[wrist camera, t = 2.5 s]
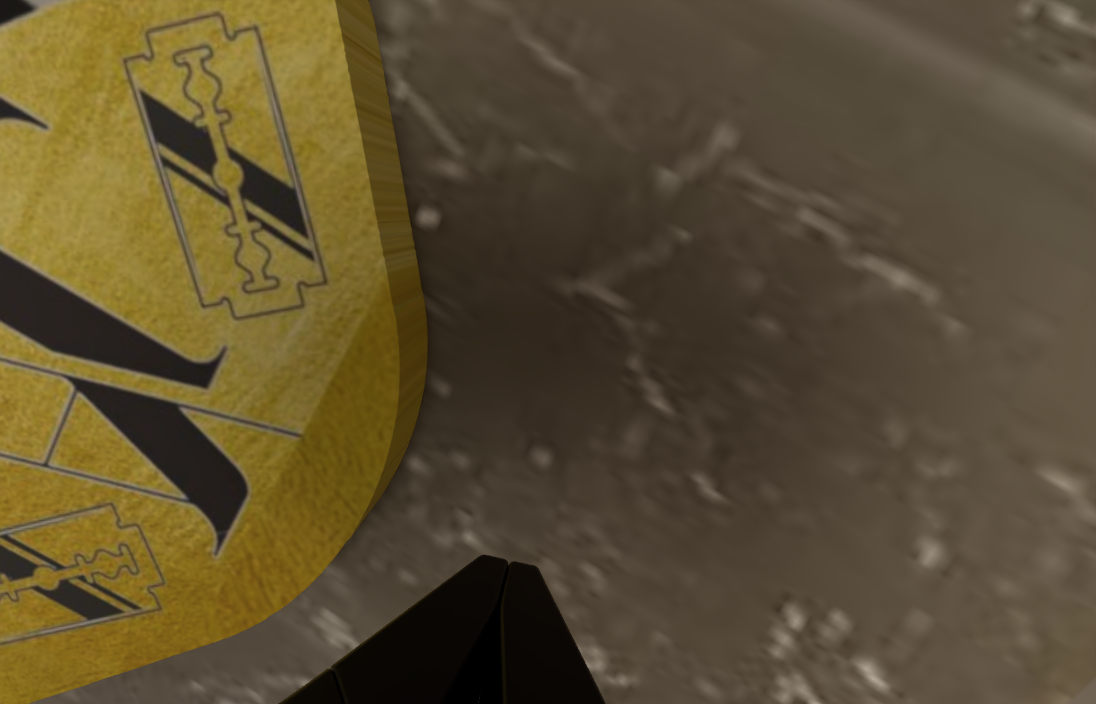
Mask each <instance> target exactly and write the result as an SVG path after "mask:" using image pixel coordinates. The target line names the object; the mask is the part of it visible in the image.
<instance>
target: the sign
mask: <svg viewBox="0 0 1096 704" xmlns="http://www.w3.org/2000/svg"><path fill="white" fill-rule="evenodd" d="M414 246H415V244H414V241H413V234H412V228H411V225H410V219H409V213H408V206H407V201H406V195H405V189H404V183H403V178H402V172H401V166H400V160H399V155H398V149H397V143H396V138H395V132H394V127H393V121H392V116H391V111H390V106H389V97H388V95H387V87H386V84H385V77H384V70H383V67H382V60H381V55H380V50H379V44H378V38H377V32H376V27H375V22H374V18H373V14H372V11H371V8H370V4H369V2H368V0H0V704H29V703H32V702H34V701H37V700H40V699H43V698H47V697H50V696H53V695H56V694H59V693H62V692H65V691H69V690H72V689H75V688H78V687H81V686H84V685H87V684H90V683H93V682H96V681H99V680H101V679H104V678H107V677H111V676H113V675H117V674H121V673H122V672H126V671H129V670H132V669H135V668H138V667H141V666H144V665H147V664H150V663H153V662H156V661H158V660H163V659H165V658H167V657H170V656H174V655H176V654H181V653H183V652H186V651H189V650H192V649H195V648H198V647H201V646H205V645H208V644H211V643H214V642H217V641H219V640H222V639H225V638H228V637H230V636H233V635H235V634H238V633H240V632H242V631H244V630H246V629H248V628H250V627H252V626H254V625H256V624H258V623H260V622H262V621H264V620H265V619H267V618H268V617H269V616H270V615H272V614H274V613H276V612H277V611H279V610H280V609H281V608H283V607H284V606H286V605H287V604H288V603H290V602H291V601H292V600H293V599H294V598H296V597H297V596H298V595H299V594H300V593H302V592H303V591H304V590H305V589H306V588H307V587H308V586H309V585H310V584H311V583H312V582H313V581H314V580H315V579H316V578H317V577H318V576H319V575H320V574H321V573H322V572H323V571H324V570H325V568H326V567H327V566H328V565H329V564H330V562H331V561H332V560H333V559H334V558H335V556H336V555H337V554H338V552H339V551H340V550H341V548H342V547H343V546H344V544H345V543H346V542H347V540H348V539H350V538H351V536H352V535H353V534H354V532H355V531H356V530H357V528H358V527H359V526H360V524H361V523H362V522H363V520H364V519H365V518H366V516H367V515H368V514H369V512H370V511H371V510H372V508H373V507H374V506H375V504H376V503H377V502H378V500H379V499H380V498H381V496H382V494H383V493H384V491H385V489H386V488H387V486H388V485H389V483H390V481H391V480H392V478H393V476H394V474H395V472H396V470H397V468H398V466H399V464H400V462H401V460H402V458H403V456H404V454H405V452H406V449H407V447H408V444H409V442H410V439H411V436H412V433H413V430H414V427H415V424H416V421H417V417H418V414H419V410H420V406H421V401H422V397H423V392H424V386H425V379H426V370H427V355H428V333H427V318H426V308H425V301H424V298H423V292H422V287H421V281H420V275H419V268H418V262H417V257H416V251H415V248H414Z"/></svg>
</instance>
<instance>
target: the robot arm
mask: <svg viewBox="0 0 1096 704" xmlns="http://www.w3.org/2000/svg"><path fill="white" fill-rule="evenodd" d="M480 692H481V693H480ZM479 697H480V698H479ZM478 701H479V702H478ZM279 704H606V703H605V701H604V699H603V697H602V695H601V693H600V691H599V689H598V687H597V685H596V683H595V681H594V679H593V677H592V675H591V673H590V671H589V669H588V667H587V665H586V663H585V661H584V659H583V657H582V655H581V653H580V651H579V649H578V647H577V645H576V643H575V641H574V639H573V637H572V635H571V633H570V631H569V629H568V627H567V625H566V623H565V621H564V619H563V617H562V615H561V613H560V611H559V609H558V607H557V605H556V603H555V601H554V599H553V597H552V595H551V593H550V591H549V589H548V587H547V585H546V583H545V581H544V579H543V577H542V575H541V573H540V571H539V569H538V568H537V567H536V566H534V565H529V564H524V563H520V562H515V561H514V562H511V563H510V564H509V566H508V561H507V560H505V559H502V558H498V557H493V556H489V555H481V556H479V557H478V558H476V559H475V560H474V561H472V562H471V563H470V564H468V565H467V566H465V567H464V568H463V569H461V570H460V571H459V572H457V573H456V574H455V575H453V576H452V577H451V578H449V579H448V580H447V581H445V582H444V583H443V584H441V585H440V586H439V587H437V588H436V589H434V590H433V591H432V592H430V593H429V594H428V595H426V596H425V597H424V598H422V599H421V600H420V601H418V602H417V603H416V604H414V605H413V606H412V607H410V608H409V609H408V610H406V611H405V612H403V613H402V614H401V615H399V616H398V617H397V618H395V619H394V620H393V621H391V622H390V623H389V624H387V625H386V626H385V627H383V628H382V629H381V630H379V631H378V632H377V633H375V634H374V635H372V636H371V637H370V638H368V639H367V640H366V641H364V642H363V643H362V644H360V645H359V646H358V647H356V648H355V649H354V650H352V651H351V652H350V653H348V654H347V655H346V656H344V657H343V658H341V659H340V660H339V661H337V662H336V663H335V664H333V665H332V666H331V669H326V670H325V671H324V672H322V673H321V674H319V675H318V676H317V677H315V678H314V679H313V680H311V681H310V682H309V683H307V684H306V685H305V686H303V687H302V688H300V689H299V690H297V691H296V692H295V693H293V694H292V695H290V696H289V697H287V698H286V699H285V700H283V701H282V702H280V703H279Z"/></svg>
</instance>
